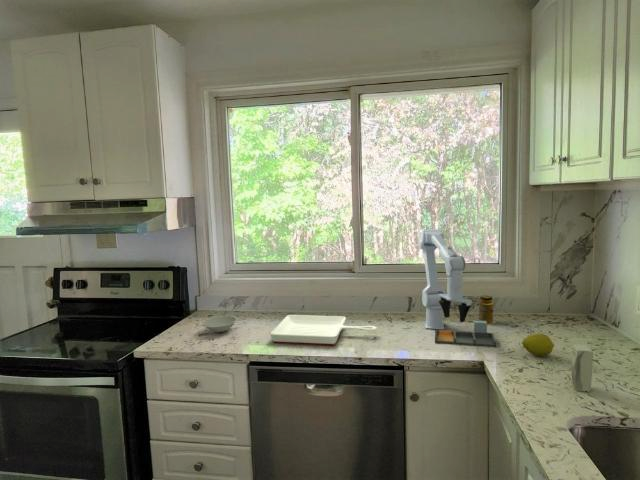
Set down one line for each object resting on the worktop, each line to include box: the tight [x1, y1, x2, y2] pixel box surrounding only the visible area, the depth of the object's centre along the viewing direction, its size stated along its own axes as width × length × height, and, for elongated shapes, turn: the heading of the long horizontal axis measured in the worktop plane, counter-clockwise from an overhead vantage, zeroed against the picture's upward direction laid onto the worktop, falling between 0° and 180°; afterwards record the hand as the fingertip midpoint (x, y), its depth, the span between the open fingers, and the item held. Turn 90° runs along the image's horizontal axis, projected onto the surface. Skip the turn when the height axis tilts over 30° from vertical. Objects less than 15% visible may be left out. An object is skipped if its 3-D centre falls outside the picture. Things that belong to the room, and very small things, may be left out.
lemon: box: [521, 333, 555, 357], centre depth 154 cm, size 11×8×8 cm
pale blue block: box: [473, 319, 488, 333], centre depth 180 cm, size 3×5×5 cm, turn 74°
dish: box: [202, 314, 238, 333], centre depth 192 cm, size 18×14×5 cm
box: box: [570, 344, 594, 393], centre depth 128 cm, size 5×4×13 cm
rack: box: [434, 329, 497, 348], centre depth 171 cm, size 10×23×2 cm, turn 74°
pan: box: [270, 314, 378, 347], centre depth 183 cm, size 28×44×5 cm, turn 78°
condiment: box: [472, 295, 497, 326], centre depth 194 cm, size 7×8×12 cm
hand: (454, 319), depth 170 cm, fingers open, 7 cm apart
